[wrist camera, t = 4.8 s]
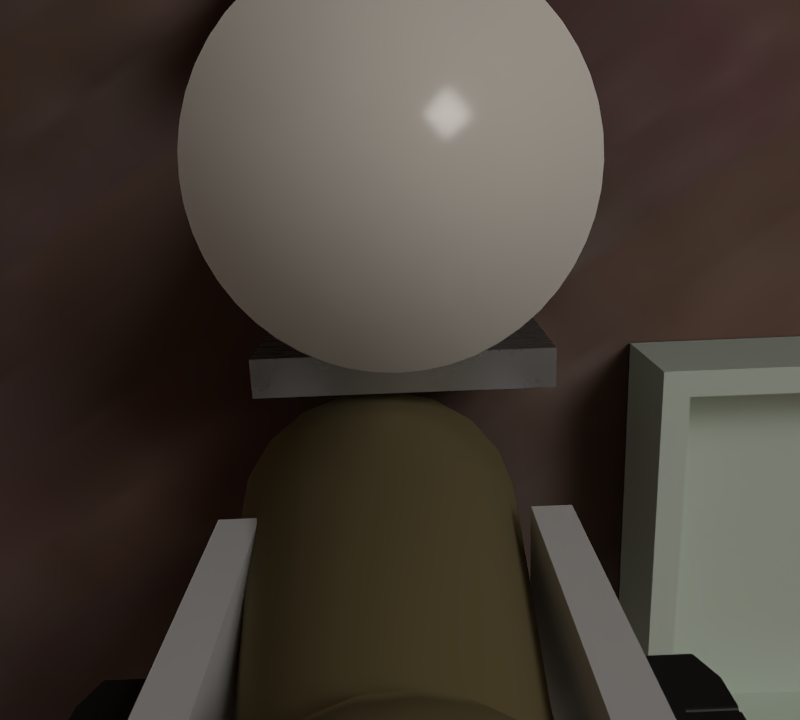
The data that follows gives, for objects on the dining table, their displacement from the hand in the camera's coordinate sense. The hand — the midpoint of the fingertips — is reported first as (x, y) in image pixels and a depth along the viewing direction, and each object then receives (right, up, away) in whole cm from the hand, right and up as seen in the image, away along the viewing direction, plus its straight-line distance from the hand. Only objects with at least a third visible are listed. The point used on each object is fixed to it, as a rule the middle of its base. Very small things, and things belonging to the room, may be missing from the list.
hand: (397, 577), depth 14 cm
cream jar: (0, +9, +3) cm, 9 cm away
